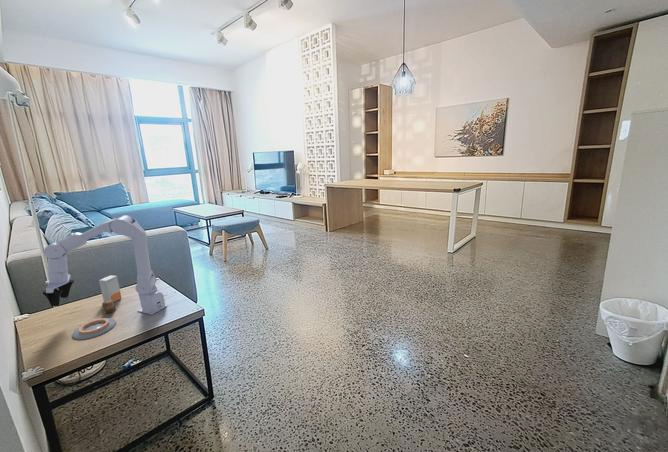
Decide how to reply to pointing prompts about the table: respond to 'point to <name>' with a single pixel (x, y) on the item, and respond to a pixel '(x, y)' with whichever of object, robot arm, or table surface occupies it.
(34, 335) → the table surface
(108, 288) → the skincare box
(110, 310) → the brown rounded cylinder
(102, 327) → the ring dish
